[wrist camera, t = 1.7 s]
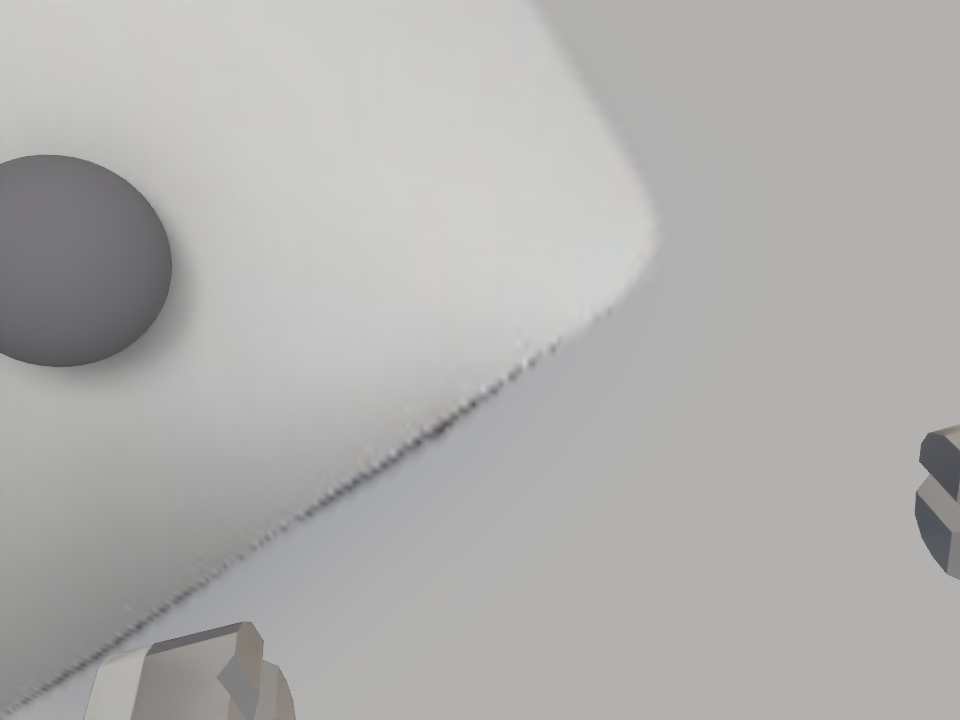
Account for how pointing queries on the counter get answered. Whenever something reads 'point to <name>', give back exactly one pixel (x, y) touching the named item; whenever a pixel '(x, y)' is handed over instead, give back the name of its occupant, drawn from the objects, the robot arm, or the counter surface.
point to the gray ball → (76, 261)
